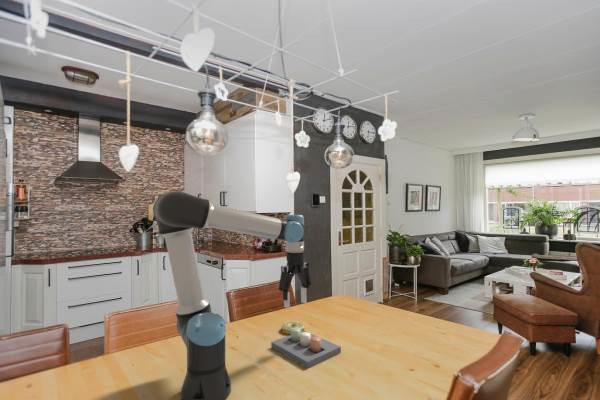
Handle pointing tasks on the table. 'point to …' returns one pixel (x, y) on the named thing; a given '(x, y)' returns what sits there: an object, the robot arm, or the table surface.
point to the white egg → (305, 339)
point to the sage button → (295, 334)
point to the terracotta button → (315, 344)
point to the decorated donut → (288, 326)
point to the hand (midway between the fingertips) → (295, 305)
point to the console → (305, 351)
